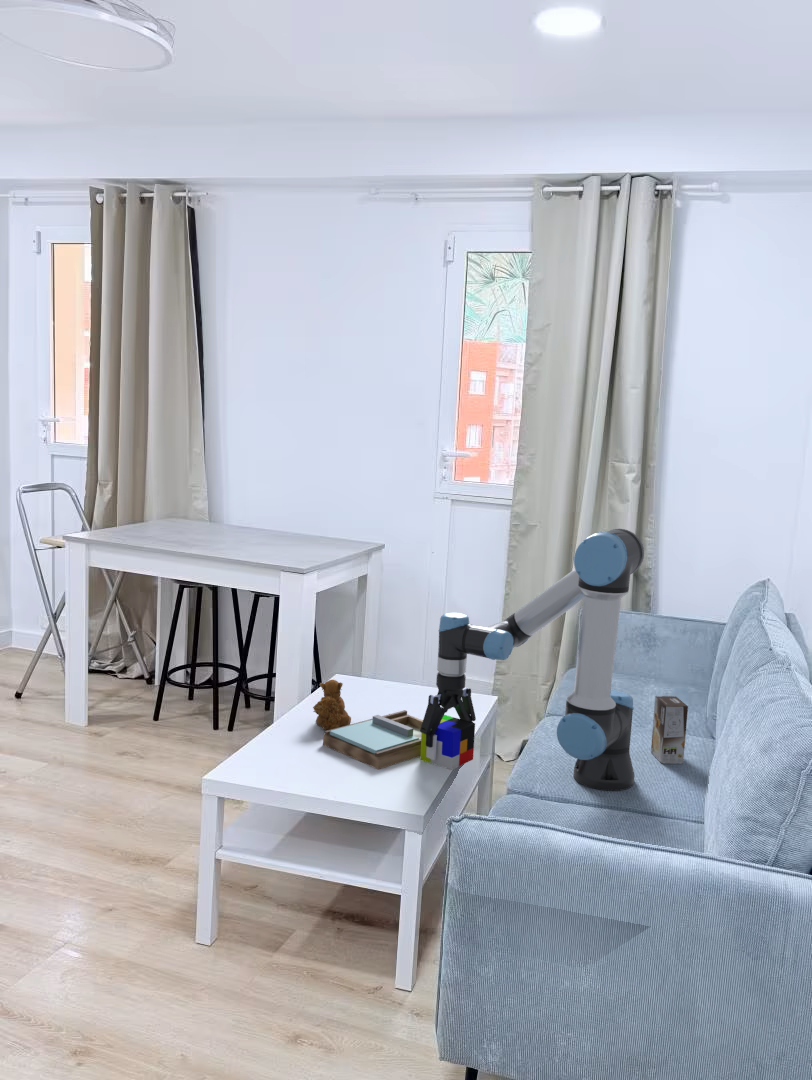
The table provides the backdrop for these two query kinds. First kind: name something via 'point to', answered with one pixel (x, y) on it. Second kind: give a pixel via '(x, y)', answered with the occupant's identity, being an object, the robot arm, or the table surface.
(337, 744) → the wooden box
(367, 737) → the lid
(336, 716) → the brown furry figure
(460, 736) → the puzzle toy
